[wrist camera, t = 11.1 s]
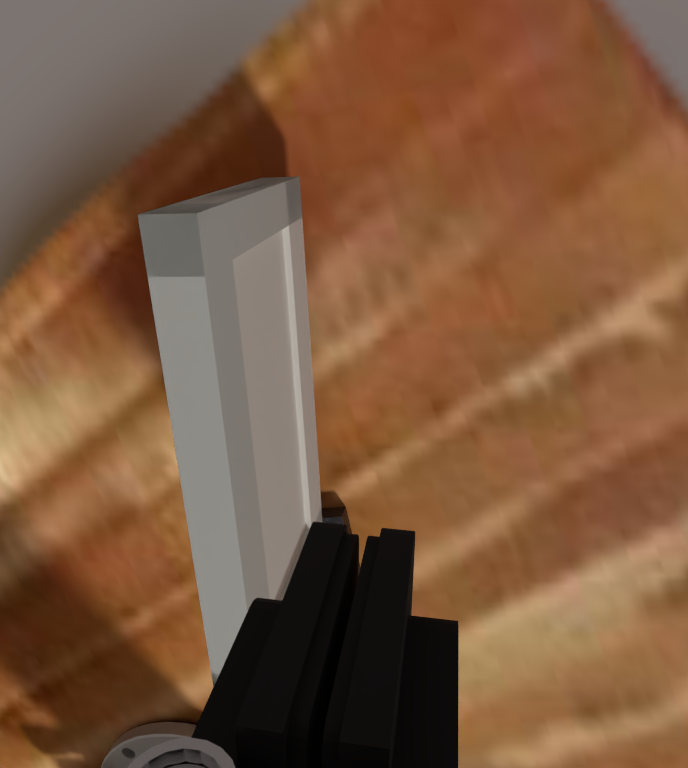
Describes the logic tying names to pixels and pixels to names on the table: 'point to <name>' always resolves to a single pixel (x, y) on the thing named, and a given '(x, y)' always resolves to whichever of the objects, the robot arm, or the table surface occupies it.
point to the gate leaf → (237, 389)
